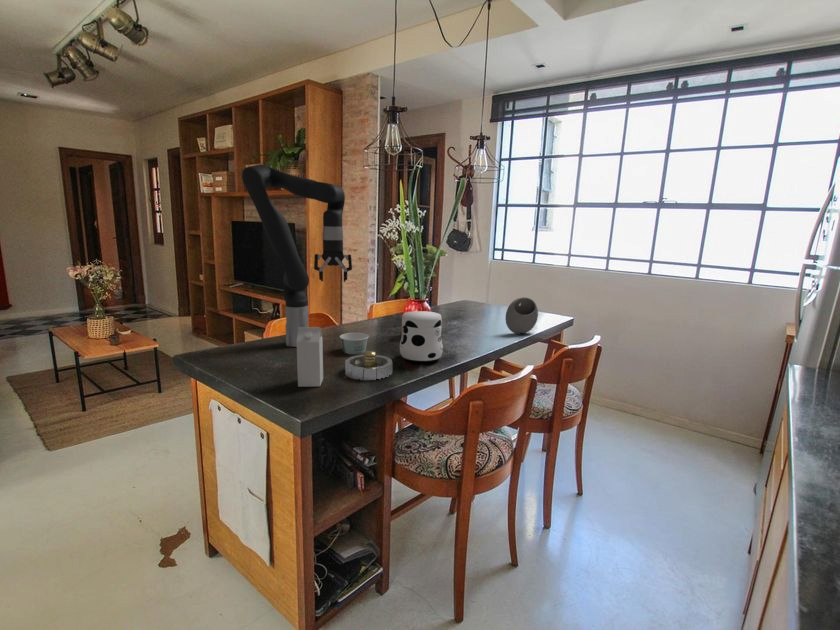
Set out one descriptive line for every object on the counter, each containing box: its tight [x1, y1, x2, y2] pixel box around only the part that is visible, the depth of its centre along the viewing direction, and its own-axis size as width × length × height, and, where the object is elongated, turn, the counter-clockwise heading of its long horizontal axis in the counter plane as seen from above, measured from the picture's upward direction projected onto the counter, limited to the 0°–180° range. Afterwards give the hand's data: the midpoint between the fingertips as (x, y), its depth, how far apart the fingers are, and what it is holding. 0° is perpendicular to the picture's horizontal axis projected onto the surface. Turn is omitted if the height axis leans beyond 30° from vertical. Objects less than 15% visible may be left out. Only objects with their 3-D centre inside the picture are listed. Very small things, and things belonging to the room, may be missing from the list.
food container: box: [339, 332, 370, 355], centre depth 179 cm, size 12×12×6 cm
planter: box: [505, 296, 539, 335], centre depth 214 cm, size 18×7×19 cm, turn 110°
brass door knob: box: [362, 350, 377, 368], centre depth 153 cm, size 9×9×7 cm
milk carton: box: [296, 326, 324, 388], centre depth 140 cm, size 7×7×19 cm
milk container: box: [399, 310, 444, 363], centre depth 169 cm, size 17×17×18 cm
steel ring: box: [344, 354, 393, 381], centre depth 154 cm, size 17×17×4 cm
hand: (333, 281), depth 166 cm, fingers open, 8 cm apart
